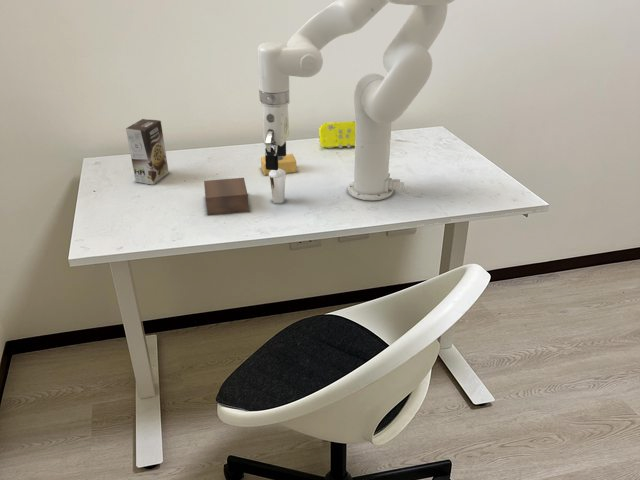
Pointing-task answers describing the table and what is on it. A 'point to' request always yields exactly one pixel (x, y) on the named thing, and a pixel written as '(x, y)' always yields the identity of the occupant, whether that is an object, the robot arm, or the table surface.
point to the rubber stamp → (281, 164)
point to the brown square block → (226, 196)
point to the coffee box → (147, 151)
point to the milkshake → (278, 185)
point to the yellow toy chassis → (337, 134)
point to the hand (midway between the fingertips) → (276, 162)
